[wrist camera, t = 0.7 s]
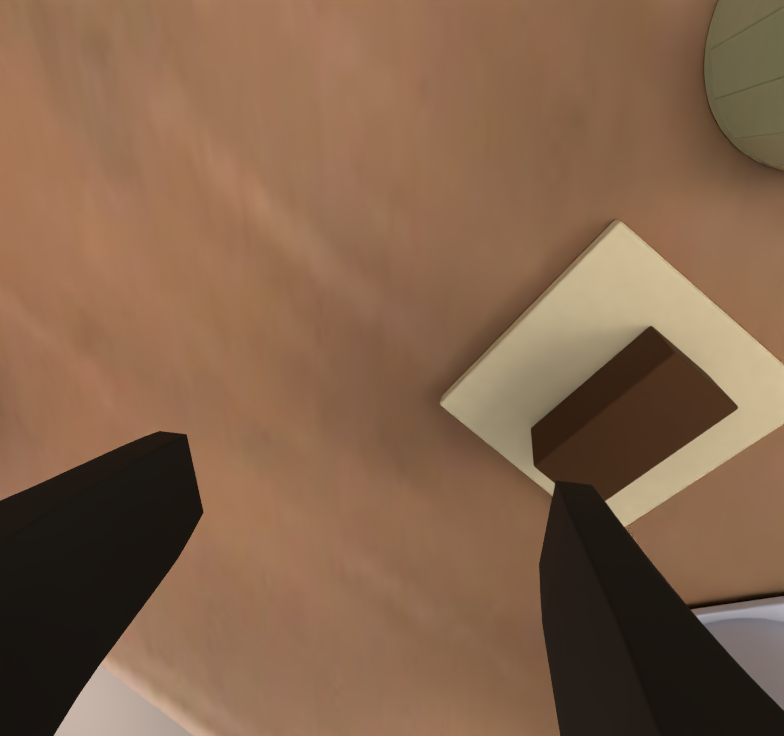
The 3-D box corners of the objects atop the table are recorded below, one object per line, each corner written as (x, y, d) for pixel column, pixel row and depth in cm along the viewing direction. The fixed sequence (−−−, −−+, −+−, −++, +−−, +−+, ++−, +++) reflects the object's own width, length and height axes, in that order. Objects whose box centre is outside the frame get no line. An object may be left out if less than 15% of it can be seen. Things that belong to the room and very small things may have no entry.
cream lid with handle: (809, 389, 16) (879, 441, 13) (602, 527, 20) (618, 591, 17) (615, 217, 15) (641, 230, 12) (441, 396, 19) (428, 438, 16)
